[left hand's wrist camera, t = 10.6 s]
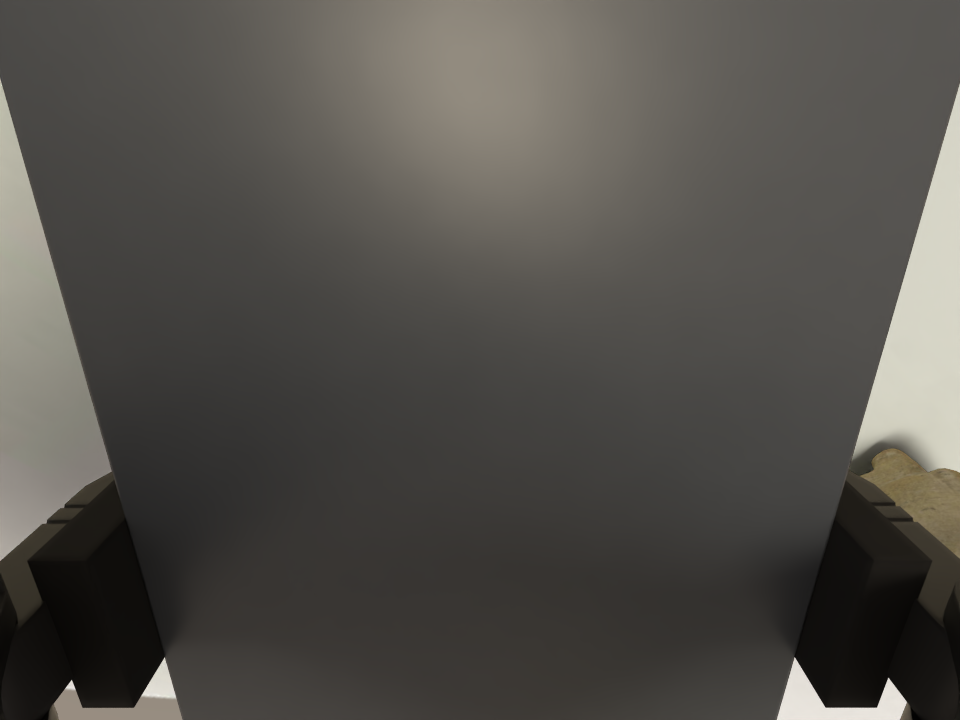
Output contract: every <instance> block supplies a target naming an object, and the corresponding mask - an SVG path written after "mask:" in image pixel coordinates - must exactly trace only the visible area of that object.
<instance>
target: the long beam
mask: <svg viewBox="0 0 960 720" xmlns="http://www.w3.org/2000/svg"><path fill="white" fill-rule="evenodd" d="M0 79H1V82H2V86H3V89H4V93H5V96H6V100H7V103H8V107H9V110H10V114H11V117H12V121H13V124H14V128H15V131H16V135H17V138H18V142H19V146H20V149H21V153H22V156H23V160H24V163H25V167H26V170H27V174H28V177H29V181H30V184H31V188H32V191H33V195H34V198H35V202H36V205H37V209H38V212H39V216H40V219H41V223H42V226H43V230H44V233H45V237H46V241H47V244H48V248H49V251H50V255H51V258H52V262H53V265H54V269H55V272H56V276H57V279H58V283H59V286H60V290H61V293H62V297H63V300H64V304H65V307H66V311H67V314H68V318H69V321H70V325H71V328H72V332H73V336H74V339H75V343H76V346H77V350H78V353H79V357H80V360H81V364H82V367H83V371H84V374H85V378H86V381H87V385H88V388H89V392H90V395H91V399H92V402H93V406H94V409H95V413H96V416H97V420H98V423H99V427H100V430H101V434H102V438H103V441H104V445H105V448H106V452H107V455H108V459H109V462H110V466H111V469H112V473H113V476H114V480H115V483H116V487H117V490H118V494H119V497H120V501H121V504H122V508H123V511H124V515H125V518H126V522H127V525H128V529H129V533H130V536H131V540H132V543H133V547H134V550H135V554H136V557H137V561H138V564H139V568H140V571H141V575H142V578H143V582H144V585H145V589H146V592H147V596H148V599H149V603H150V606H151V610H152V613H153V617H154V620H155V624H156V628H157V631H158V635H159V638H160V642H161V645H162V649H163V652H164V656H165V659H166V663H167V666H168V670H169V673H170V677H171V680H172V684H173V687H174V691H175V694H176V698H177V701H178V705H179V708H180V712H181V715H182V719H183V720H777V716H778V713H779V709H780V706H781V702H782V699H783V695H784V692H785V689H786V685H787V682H788V678H789V675H790V671H791V668H792V664H793V661H794V657H795V654H796V650H797V647H798V643H799V640H800V636H801V633H802V629H803V626H804V623H805V619H806V616H807V612H808V609H809V605H810V602H811V598H812V595H813V591H814V588H815V584H816V581H817V577H818V574H819V570H820V567H821V563H822V560H823V557H824V553H825V550H826V546H827V543H828V539H829V536H830V532H831V529H832V525H833V522H834V518H835V515H836V511H837V508H838V504H839V501H840V497H841V494H842V490H843V487H844V484H845V480H846V477H847V473H848V470H849V466H850V463H851V459H852V456H853V452H854V449H855V445H856V442H857V438H858V435H859V431H860V428H861V424H862V421H863V418H864V414H865V411H866V407H867V404H868V400H869V397H870V393H871V390H872V386H873V383H874V379H875V376H876V372H877V369H878V365H879V362H880V358H881V355H882V352H883V348H884V345H885V341H886V338H887V334H888V331H889V327H890V324H891V320H892V317H893V313H894V310H895V306H896V303H897V299H898V296H899V292H900V289H901V286H902V282H903V279H904V275H905V272H906V268H907V265H908V261H909V258H910V254H911V251H912V247H913V244H914V240H915V237H916V233H917V230H918V226H919V223H920V220H921V216H922V213H923V209H924V206H925V202H926V199H927V195H928V192H929V188H930V185H931V181H932V178H933V174H934V171H935V167H936V164H937V160H938V157H939V153H940V150H941V147H942V143H943V140H944V136H945V133H946V129H947V126H948V122H949V119H950V115H951V112H952V108H953V105H954V101H955V98H956V94H957V91H958V87H959V84H960V0H0Z"/></svg>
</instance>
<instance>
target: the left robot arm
mask: <svg viewBox="0 0 960 720" xmlns="http://www.w3.org/2000/svg"><path fill="white" fill-rule="evenodd" d="M895 503H896V502H894V501H893V500H892V499H891V498H890V497H889V496H888V495H886V494H885V493H884V492H883V491H882V490H881V489H880V488H878V487H877V486H876V485H875V484H873V483H871V482H870V481H868V480H866V479H864V478H862V477H860V476H859V475H857V474H855V473H853V472H851V471H849V470H848V473H847V477H846V480H845V484H844V487H843V490H842V494H841V497H840V501H839V504H838V508H837V511H836V515H835V518H834V522H833V525H832V529H831V532H830V536H829V539H828V543H827V546H826V550H825V553H824V557H823V560H822V563H821V567H820V570H819V574H818V577H817V581H816V584H815V588H814V591H813V595H812V598H811V602H810V605H809V609H808V612H807V616H806V619H805V623H804V626H803V629H802V633H801V636H800V640H799V643H798V647H797V650H796V654H795V658H796V660H797V661H798V663H799V665H800V666H801V668H802V670H803V671H804V673H805V674H806V676H807V678H808V679H809V681H810V683H811V684H812V686H813V688H814V689H815V691H816V693H817V694H818V696H819V697H820V699H821V701H822V702H823V704H824V706H825V707H826V708H877V706H878V703H879V701H880V698H881V695H882V693H883V690H884V688H885V685H886V682H887V680H888V677H889V679H890V680H891V681H892V683H893V684H894V685H895V687H896V688H897V689H898V691H899V692H900V693H901V695H902V696H903V697H904V698H905V700H906V701H907V704H906V706H905V709H904V711H903V714H902V716H901V719H900V720H960V558H959V557H957V556H956V555H955V554H954V553H953V552H952V551H951V550H949V549H948V548H947V547H946V546H945V545H944V544H942V543H941V542H940V541H939V540H938V539H937V538H936V537H934V536H933V535H932V534H931V533H930V532H929V531H928V530H926V529H925V528H924V527H923V526H922V525H921V524H920V523H918V522H914V521H913V517H912V516H910V515H909V514H908V513H907V512H906V511H905V510H904V509H902V508H901V507H900V506H896V504H895ZM164 657H165V656H164V652H163V649H162V645H161V642H160V638H159V635H158V631H157V628H156V624H155V620H154V617H153V613H152V610H151V606H150V603H149V599H148V596H147V592H146V589H145V585H144V582H143V578H142V575H141V571H140V568H139V564H138V561H137V557H136V554H135V550H134V547H133V543H132V540H131V536H130V533H129V529H128V525H127V522H126V518H125V515H124V511H123V508H122V504H121V501H120V497H119V494H118V490H117V487H116V483H115V480H114V476H113V473H112V472H111V473H109V474H107V475H105V476H103V477H101V478H100V479H98V480H96V481H94V482H92V483H90V484H89V485H87V486H85V487H84V488H83V489H82V490H81V491H79V492H78V493H77V494H76V495H75V496H74V497H73V498H72V499H70V500H69V501H68V502H67V503H66V504H65V507H64V508H60V509H59V510H58V511H57V512H56V513H54V514H53V515H52V516H51V517H50V518H49V519H48V520H47V524H42V525H41V526H40V527H39V528H37V529H36V530H35V531H34V532H33V533H32V534H31V535H29V536H28V537H27V538H26V539H25V540H24V541H23V542H21V543H20V544H19V545H18V546H17V547H16V548H15V549H14V550H12V551H11V552H10V553H9V554H8V555H7V556H6V557H4V558H3V559H2V560H1V561H0V720H59V719H58V714H57V711H56V709H55V707H54V702H55V701H56V700H57V698H58V697H59V696H60V694H61V693H62V692H63V691H64V689H65V688H66V687H67V685H68V684H69V683H70V681H71V680H72V681H73V684H74V686H75V689H76V692H77V694H78V697H79V699H80V702H81V705H82V707H83V708H134V707H135V705H136V703H137V702H138V700H139V698H140V697H141V695H142V694H143V692H144V690H145V689H146V687H147V685H148V684H149V682H150V680H151V679H152V677H153V675H154V674H155V672H156V671H157V669H158V667H159V666H160V664H161V662H162V661H163V659H164Z"/></svg>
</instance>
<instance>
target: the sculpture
mask: <svg viewBox="0 0 960 720" xmlns="http://www.w3.org/2000/svg"><path fill="white" fill-rule="evenodd" d="M871 464H872V467H873V469H874V470H873V471H871V472H869V473H866V474H863V475H860V477H862V478H864V479H866V480H868V481H870V482H871V483H873V484H875V485H876V486H877V487H878V488H880V489H881V490H882V491H883V492H884V493H885V494H886V495H888V496H889V497H890V498H891V499H892V500H893V501H894V502H896V503H895V504H896V506H900V507H901V508H902V509H904V510H905V511H906V512H907V513H908V514H909V515H910V516H912V517H913V521H914V522H918V523H920V524H921V525H922V526H923V527H924V528H925V529H926V530H928V531H929V532H930V533H931V534H932V535H933V536H934V537H936V538H937V539H938V540H939V541H940V542H941V543H942V544H944V545H945V546H946V547H947V548H948V549H949V550H951V551H952V552H953V553H954V554H955V555H956V556H957V557H959V558H960V473H959V472H957V471H954V470H950V469H946V468H943V469H936V470H934V471H931V472H927V471H925V470H924V469H923V468H922V467H921V466H920V465H919V464H918V463H917V462H915V461H914V460H913V459H911V458H910V457H909V456H908V455H906V454H905V453H904V452H902V451H901V450H898V449H886V450H884V451H882V452H880V453H879V454H877V455H876V456H875V457H874V458H873V459H872V463H871Z"/></svg>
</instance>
